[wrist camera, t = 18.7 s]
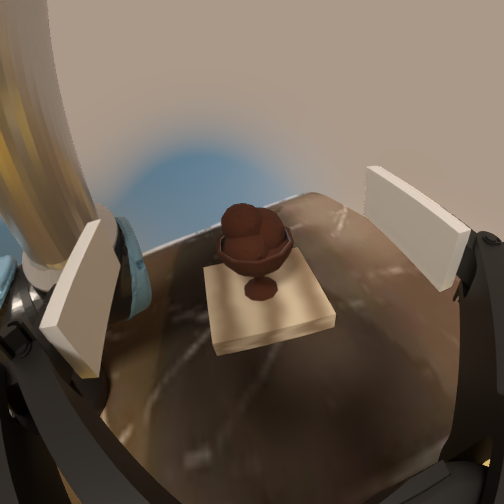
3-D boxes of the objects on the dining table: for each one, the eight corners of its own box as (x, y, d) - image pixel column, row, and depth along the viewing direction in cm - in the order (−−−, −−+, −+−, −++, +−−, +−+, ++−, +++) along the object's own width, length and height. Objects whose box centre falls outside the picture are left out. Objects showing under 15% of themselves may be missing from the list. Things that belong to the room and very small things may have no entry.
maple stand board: (217, 355, 40) (212, 343, 38) (206, 279, 55) (203, 267, 53) (334, 326, 42) (335, 313, 40) (298, 259, 56) (297, 247, 55)
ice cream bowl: (260, 325, 40) (246, 235, 32) (214, 290, 48) (193, 209, 39) (309, 287, 45) (308, 201, 37) (261, 260, 53) (251, 182, 44)
